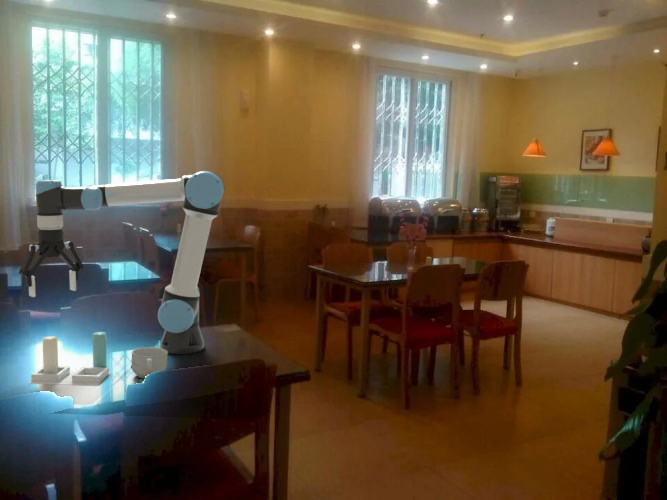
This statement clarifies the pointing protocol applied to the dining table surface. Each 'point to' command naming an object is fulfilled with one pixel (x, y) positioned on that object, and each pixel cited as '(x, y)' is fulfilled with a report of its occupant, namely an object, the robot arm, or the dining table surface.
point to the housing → (71, 376)
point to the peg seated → (50, 355)
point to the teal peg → (99, 350)
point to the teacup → (148, 360)
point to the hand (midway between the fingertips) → (53, 293)
